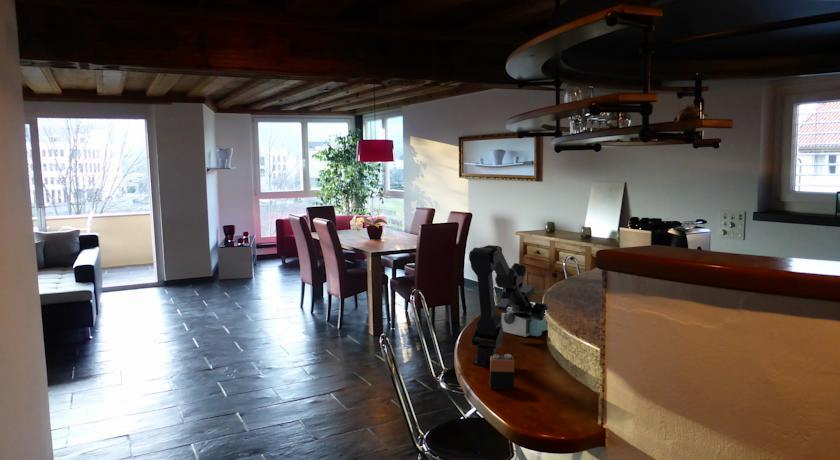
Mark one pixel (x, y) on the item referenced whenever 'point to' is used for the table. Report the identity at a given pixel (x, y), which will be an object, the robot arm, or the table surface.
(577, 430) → the table surface
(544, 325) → the side door
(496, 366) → the battery
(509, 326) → the camera body
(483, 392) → the table surface
